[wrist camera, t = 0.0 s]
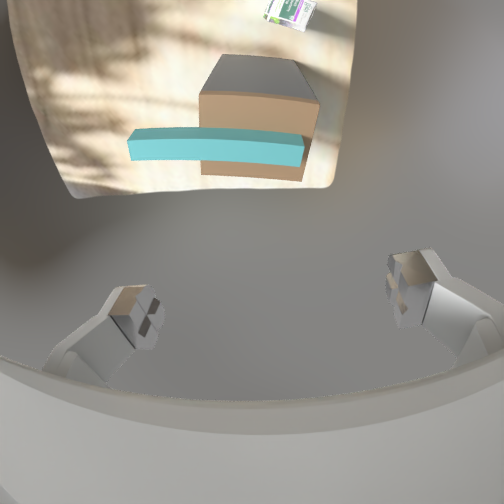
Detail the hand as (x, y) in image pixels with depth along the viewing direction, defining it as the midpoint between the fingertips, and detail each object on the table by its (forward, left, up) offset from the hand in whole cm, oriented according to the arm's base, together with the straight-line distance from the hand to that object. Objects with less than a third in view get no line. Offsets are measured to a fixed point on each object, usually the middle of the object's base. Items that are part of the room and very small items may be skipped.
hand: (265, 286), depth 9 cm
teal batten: (+10, -1, -26) cm, 28 cm away
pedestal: (+9, +4, -52) cm, 53 cm away
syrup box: (-9, +1, -52) cm, 53 cm away
